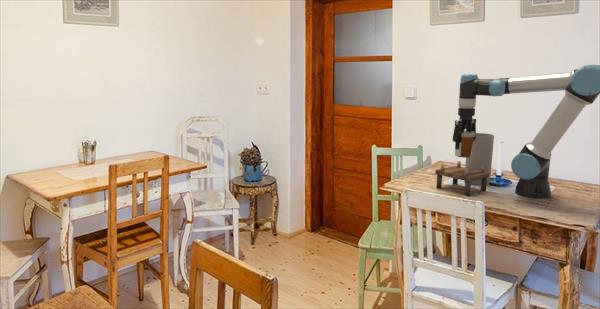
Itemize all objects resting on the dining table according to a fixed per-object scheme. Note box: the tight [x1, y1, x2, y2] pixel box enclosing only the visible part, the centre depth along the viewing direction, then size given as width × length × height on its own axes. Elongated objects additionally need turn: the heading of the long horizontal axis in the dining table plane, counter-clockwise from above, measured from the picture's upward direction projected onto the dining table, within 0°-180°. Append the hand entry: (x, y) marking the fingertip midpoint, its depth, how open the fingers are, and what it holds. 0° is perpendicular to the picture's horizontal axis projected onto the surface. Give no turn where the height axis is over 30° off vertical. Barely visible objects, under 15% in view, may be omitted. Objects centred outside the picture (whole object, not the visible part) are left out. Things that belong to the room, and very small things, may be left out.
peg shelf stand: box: [434, 160, 489, 197], centre depth 229 cm, size 19×16×12 cm
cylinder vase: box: [464, 132, 495, 187], centre depth 241 cm, size 12×12×25 cm
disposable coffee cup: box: [456, 129, 475, 159], centre depth 226 cm, size 10×10×12 cm
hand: (463, 154), depth 227 cm, fingers closed on disposable coffee cup, 8 cm apart
